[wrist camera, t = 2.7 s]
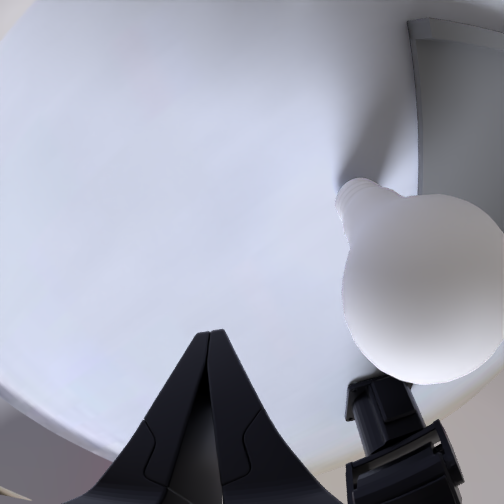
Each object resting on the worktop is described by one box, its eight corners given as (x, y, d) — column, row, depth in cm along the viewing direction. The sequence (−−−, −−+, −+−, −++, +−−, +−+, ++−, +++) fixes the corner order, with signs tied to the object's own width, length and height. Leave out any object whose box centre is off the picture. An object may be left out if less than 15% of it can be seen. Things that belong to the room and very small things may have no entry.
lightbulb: (278, 163, 15) (364, 338, 5) (390, 122, 14) (572, 224, 5) (315, 261, 18) (384, 442, 9) (410, 222, 17) (528, 363, 8)
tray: (510, 272, 20) (524, 286, 18) (406, 306, 21) (418, 325, 19) (533, 47, 11) (554, 50, 9) (406, 21, 11) (428, 17, 9)
